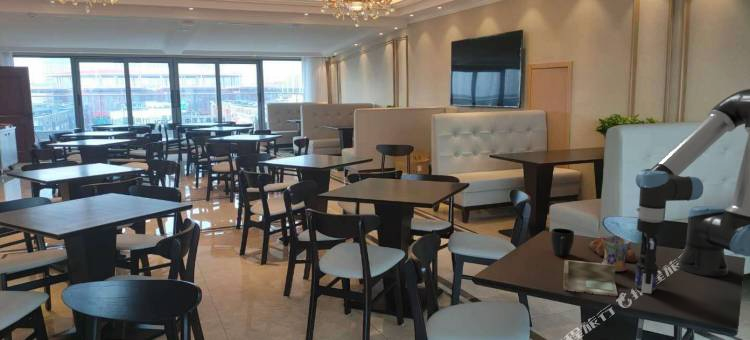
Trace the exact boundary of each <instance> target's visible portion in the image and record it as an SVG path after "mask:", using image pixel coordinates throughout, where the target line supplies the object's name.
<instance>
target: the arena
mask: <svg viewBox="0 0 750 340" xmlns="http://www.w3.org/2000/svg"><path fill="white" fill-rule="evenodd" d="M563 262H564V263H563V264H564V265H563V281H562V282H563V283H562V284H563V286H562V287H563V289H562V290H563V291H567V290H568V291H569V292H575V291H576V292H577V293H584V292H586V293H585V294H592V293H593V294H594V295H600V296H608V295H609V296H608V297H616V296H618V295H619V294H618V291H617V286H616V281H615V278H616V277H615V276H616V271H615V265H611V264H602V262H601V263H600V262H591V261H589V262H588V261H583V260H582V261H580V260H572V259H571V260H569V259H564V261H563Z"/></svg>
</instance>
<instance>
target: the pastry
mask: <svg viewBox="0 0 750 340" xmlns="http://www.w3.org/2000/svg"><path fill="white" fill-rule="evenodd" d="M605 237H606V236H604V237H598V238H597V239H595V240H592V241H591V242H589V243H588V248H589V249H590V250H591V251H592V252H593V251H594V252H593V253H595V252H596V253H595V254H596V255H598V256H599V257H600V256H601V257H600V258H604V256H605V250H604V245H603V242H602V238H605ZM608 237H617V238H621V237H620V236H618V235H611V236H608ZM636 259H637V258H636V253H635V252H634V251H633V250H632V249H631V247H630V245H629V246H628V248H627V251H626V254H625V263H626V262H627V263H631V264H635V263H636Z"/></svg>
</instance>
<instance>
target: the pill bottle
mask: <svg viewBox="0 0 750 340" xmlns="http://www.w3.org/2000/svg"><path fill="white" fill-rule="evenodd" d="M639 258H640V259H639V261H638V262H637V263H636V268H635V269H636V270H635V279H634V280H635V281H634V288H635V289H636V290H637V291H641V292H642V281H643V273H642V271H644V264H645V254H642V255H639ZM656 262H657V257H656V258H655V274H653V281H652V292H651V293H653V292H655V291H656V289H657V280H658V270H659V269H658V267H659V266H658V264H656Z"/></svg>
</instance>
